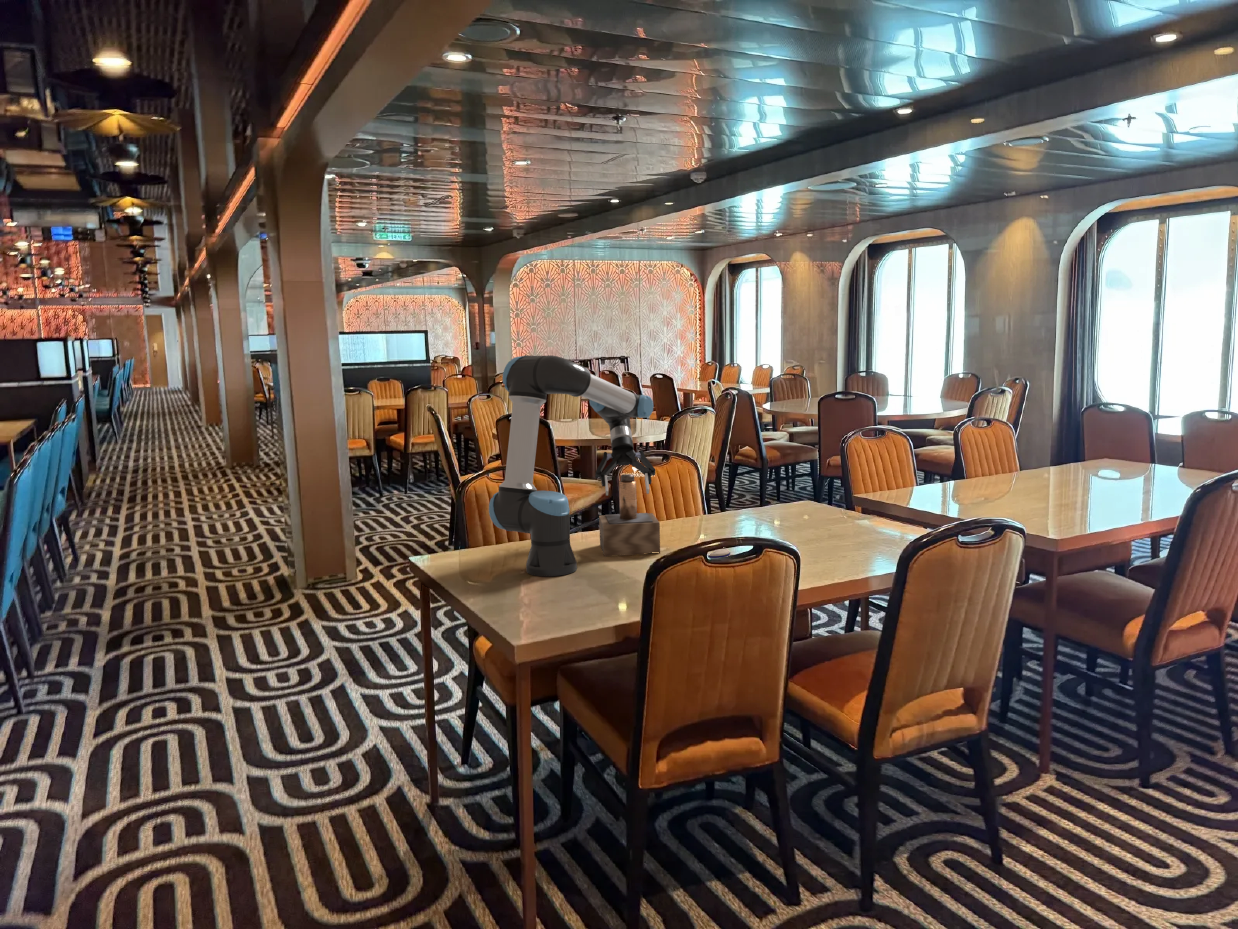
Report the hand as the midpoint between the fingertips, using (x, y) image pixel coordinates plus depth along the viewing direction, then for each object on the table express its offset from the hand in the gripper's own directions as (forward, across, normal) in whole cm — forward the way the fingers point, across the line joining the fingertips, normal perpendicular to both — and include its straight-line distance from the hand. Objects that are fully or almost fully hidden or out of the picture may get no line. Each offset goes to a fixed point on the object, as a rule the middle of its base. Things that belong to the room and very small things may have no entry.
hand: (627, 492), depth 287 cm
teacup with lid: (+48, -20, +22) cm, 56 cm away
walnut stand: (+17, +1, -9) cm, 19 cm away
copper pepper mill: (+9, +1, -1) cm, 9 cm away
